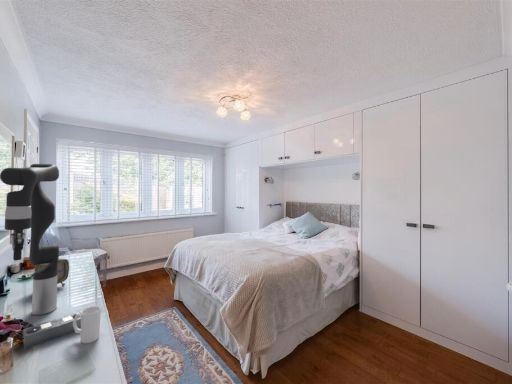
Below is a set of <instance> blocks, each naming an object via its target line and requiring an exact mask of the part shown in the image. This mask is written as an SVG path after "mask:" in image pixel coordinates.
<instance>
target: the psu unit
mask: <svg viewBox="0 0 512 384" xmlns="http://www.w3.org/2000/svg"><path fill="white" fill-rule="evenodd" d="M76 313H80V314H81V311H78V312H74V313H72V314H69V315H66V316H62V317H58V318H56V319H51V320H49V321H45V322H43V323H39V324H36V325H33V326H30V327H26V328H23V329H22V344H23V348H24V350H27V349H31V348H34V347H36V346H39V345H41V344H44V343H47V342H50V341H53V340H56V339H59V338H61V337H64V336H67V335H70V334H72V333H76V332H75V330H74V327H73V320H74V318H75V316H76ZM76 325H77V327H78V328H79V329H81V318H80V317H79V318H77V320H76ZM23 338H24V339H23Z"/></svg>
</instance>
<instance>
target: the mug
mask: <svg viewBox="0 0 512 384" xmlns="http://www.w3.org/2000/svg"><path fill="white" fill-rule="evenodd" d="M101 309H102V307H100V306H96V305H95V306H89V307H86V308H84V309H82V310H81V311H80V312H81V314H80V313H78V312H75V313H76V316H75V318H74V320H73V327H74V330H75V332H74V333H75V334H80V342H81V343H82V344H90V343H93V342H96V341H97V340H98V339H99V337H100V333H101V332H100V330H101V329H100V328H101V312H102V310H101ZM79 317H80V318H81V329H79V328H78V327H77V325H76V320H77V318H79Z"/></svg>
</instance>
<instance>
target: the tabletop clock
mask: <svg viewBox="0 0 512 384" xmlns="http://www.w3.org/2000/svg"><path fill="white" fill-rule="evenodd" d="M48 264H49V263H46V264H40V265H34V266H35V267H34V271H33V274H34V273H35V272H36V271H38V270H40V269H42V268H44V267H46V266H47V265H48ZM69 272H70V262H69V259H67V258H59V259H58V274H57V285H59V284H61V286H62V287H64V286H65V285H66V284H65V283H64V282H66V281H67V280H68V277H69V274H70V273H69Z"/></svg>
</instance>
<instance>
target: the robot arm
mask: <svg viewBox="0 0 512 384" xmlns="http://www.w3.org/2000/svg"><path fill="white" fill-rule="evenodd" d="M59 177H60V169H59V168H58V165H55V164H52V163H32V164H31V165H30V166H29V167H27V166H26V167H5V168H4V169H3V170H1V172H0V181H1V182H2V183H3V184H5V185H7V186H22V189H20V190H15V191H10V192H8V193H7V194H6V197H5V198H6V203H5V205H6V206H5V210H4V211H5V212H4V230H6V231H12V233H10V239H11V242H10V243H11V246H12V252H13V255H12V256H13V258H12V259H13V261H20V260H22V251H23V250H24V245H25V238H26V233H25V232H24V230H29V229H30V245H29V257H28V258H29V263H30V265H31V266H36V265H40V264H46V263H49V264H48V265H47V266H46V267H44V268H42V269H40V270H38V271H36V272H35V273H34V272H33V274H32V296H31V297H32V299H31V301H32V304H31V314H32V315H33V316H39V315H45V314H49V313H51V312H53V311H55V310H57V304H58V303H57V302H58V284H57V274H58V259H60V249H59V245H58V244H57V243H51V244H44V245H40V241H41V240H42V238H43V236H44V234H45V233H46V231H47V230H48V229H49V228H50V227H51V225H52V224H53V223H54V221H55V219H56V214H55V213H56V206H55V204H54V203H53V201H52V200H51V199H50V198H49V197H48V196H47V194H46V193H45V192H44V190H43V189H42V187H41V182H46V183H47V182H55V181H58V179H59Z"/></svg>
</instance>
